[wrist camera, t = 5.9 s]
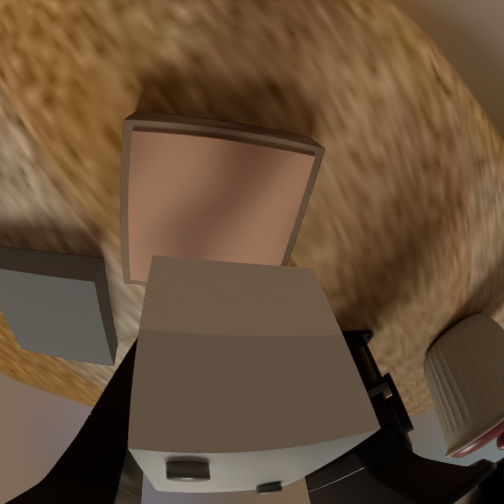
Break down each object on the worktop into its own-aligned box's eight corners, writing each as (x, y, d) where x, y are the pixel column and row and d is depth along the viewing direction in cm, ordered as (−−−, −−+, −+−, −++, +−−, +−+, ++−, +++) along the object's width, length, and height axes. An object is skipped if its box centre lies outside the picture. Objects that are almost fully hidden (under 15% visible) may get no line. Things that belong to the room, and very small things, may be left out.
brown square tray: (311, 137, 16) (326, 150, 14) (270, 272, 21) (277, 296, 19) (134, 112, 13) (122, 120, 11) (130, 260, 19) (123, 285, 17)
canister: (432, 313, 29) (510, 459, 12) (509, 283, 30) (578, 383, 14) (390, 385, 40) (433, 492, 23) (465, 353, 41) (510, 438, 24)
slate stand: (103, 258, 18) (94, 281, 16) (117, 344, 24) (114, 366, 22) (-3, 246, 16) (-17, 265, 14) (28, 329, 22) (21, 348, 20)
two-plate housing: (264, 376, 12) (288, 492, 7) (157, 373, 11) (157, 498, 6) (312, 268, 8) (385, 440, 4) (152, 255, 7) (127, 465, 3)
